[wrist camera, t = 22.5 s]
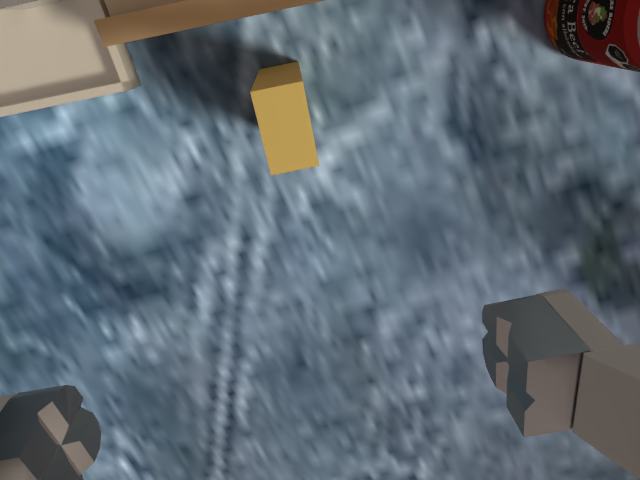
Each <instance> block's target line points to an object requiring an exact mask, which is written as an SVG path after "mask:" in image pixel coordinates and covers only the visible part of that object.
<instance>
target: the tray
mask: <svg viewBox="0 0 640 480" xmlns="http://www.w3.org/2000/svg"><path fill="white" fill-rule="evenodd" d="M107 17H110V15H109V12H108V9H107V7H106V4H105V1H104V0H66V1H62V2H57V3H53V4H48V5H44V6H39V7H35V8H30V9H23V10H0V117H3V116H7V115H12V114H17V113H22V112H26V111H31V110H36V109H41V108H46V107H50V106H55V105H60V104H65V103H69V102H74V101H79V100H84V99H88V98H93V97H98V96H103V95H108V94H112V93H117V92H122V91H127V90H131V89H134V88H136V87H138V86H140V85H141V84H140V81H139V79H138V76H137V73H136V71H135V68H134V65H133V62H132V60H131V57H130V54H129V52H128V49H127V46H126V43H121V44H117V45H112V46H107V47H104V46H103V43H102V41H101V38H100V36H99V33H98V31H97V28H96V25H95V23H94V20H97V19H102V18H107Z"/></svg>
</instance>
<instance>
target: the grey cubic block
mask: <svg viewBox="0 0 640 480" xmlns="http://www.w3.org/2000/svg"><path fill="white" fill-rule="evenodd" d="M62 1H66V0H0V10H23V9H30V8H35V7H39V6H44V5H48V4H53V3H57V2H62Z"/></svg>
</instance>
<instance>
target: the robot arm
mask: <svg viewBox="0 0 640 480" xmlns="http://www.w3.org/2000/svg"><path fill="white" fill-rule="evenodd" d="M482 322H483V324H484V325H485V327H486V329H487V330H488V333H487V334H486V335H485V337H484V338H483V339H482V341H483V355H484V359H485V363H486V367H487V370H488V372H489V375H490V377H491V379H492V381H493V383H494V385H495V386H496V388H498V389H500V390H501V391H503V392H505V393H506V394H507V408H508V410H509V412H510V414H511V415H512V417H513V419H514V421H515V422H516V424H517V426H518V428H519V430H520V431H521V433H522V435H523V437H527V436H534V435H540V434H547V433H553V432H560V431H566V430H573V431H572V432H573V433H574V434H576V435H577V436H579V437H580V438H581V439H583V440H584V441H586V442H587V443H589V444H590V445H591V446H593V447H594V448H596V449H597V450H598V451H600V452H601V453H603V454H604V455H606V456H607V457H608V458H610V459H611V460H613V461H614V462H615V463H617V464H618V465H620V466H621V467H623V468H624V469H625V470H627V471H628V472H630V473H631V474H632V475H634V476H635V477H637V478H638V479H640V346H637V345H635V344H630V345H624V344H623V343H622V342H620V341H619V340H618V339H617V338H616V337H615V336H614V335H613V334H612V333H611V332H610V331H609V330H608V329H607V328H606V327H605V326H604V325H603V324H602V323H601V322H600V321H599V320H598V319H597V318H596V317H595V316H594V315H593V314H592V313H591V312H590V311H589V310H588V309H587V308H586V307H585V306H584V305H583V304H582V303H581V302H580V301H579V300H578V299H577V298H576V297H575V296H574V295H573V294H572V293H571V292H570V291H568V290H565V289H559V290H554V291H549V292H545V293H540V294H537V295H533V296H528V297H523V298H518V299H513V300H508V301H503V302H498V303H492V304H487V305H484V308H483V311H482ZM82 400H83V397H82V396H81V394H80V393H79V391H78V390H77V389H76V387H75V386H69V385H64V386H58V387H52V388H46V389H40V390H34V391H28V392H22V393H18V394H13V395H7V396H1V397H0V480H83V477H82V474H83V473H84V472H85V471H86V470H87V469H88V468H89V467H90V466H91V465H92V464H93V463H94V462H95V459H96V457H97V454H98V451H99V449H100V439H101V431H100V427H99V423H98V421H97V419H96V417H95V416H94V414H93V413H92V412H90V411H88V410H86V409H84V408H82V407H81V403H82Z"/></svg>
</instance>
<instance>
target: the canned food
mask: <svg viewBox="0 0 640 480" xmlns="http://www.w3.org/2000/svg"><path fill="white" fill-rule="evenodd" d="M544 21H545V28H546V31H547V35H548V37H549V38H550V40H551V42H552V43H553V44H554V46H555V47H556V48H557V49H558V50H559V51H560V52H561V53H563V54H564V55H566V56H568V57H570V58H573V59H576V60H580V61H585V62H591V63H596V64H601V65H606V66H611V67H616V68H621V69H627V70H632V71H637V72H640V0H547V1H546V4H545V12H544Z"/></svg>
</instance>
